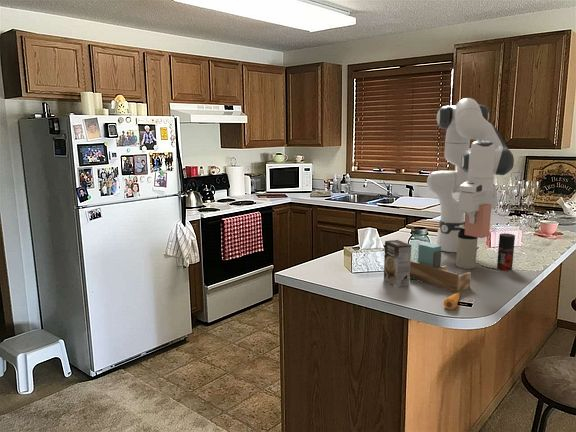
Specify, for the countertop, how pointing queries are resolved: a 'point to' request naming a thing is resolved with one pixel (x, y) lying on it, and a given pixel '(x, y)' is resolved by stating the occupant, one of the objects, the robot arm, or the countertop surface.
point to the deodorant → (505, 252)
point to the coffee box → (397, 262)
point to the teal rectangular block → (429, 254)
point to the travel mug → (466, 250)
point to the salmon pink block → (479, 222)
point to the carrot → (452, 301)
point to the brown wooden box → (439, 277)
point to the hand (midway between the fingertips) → (477, 222)
